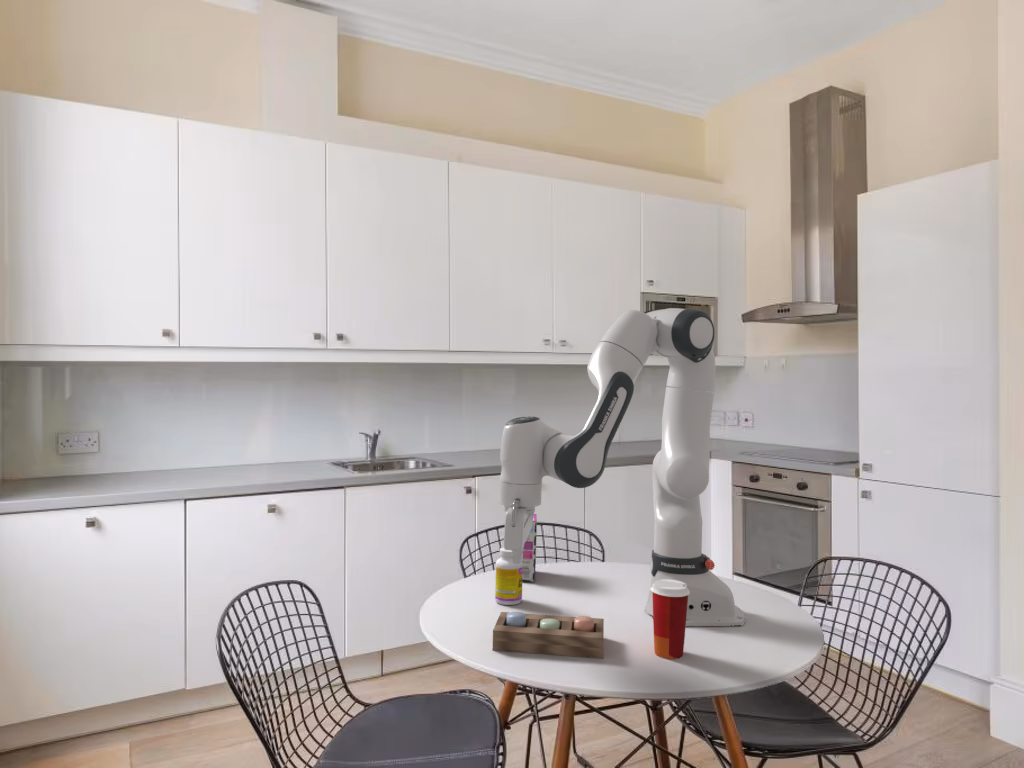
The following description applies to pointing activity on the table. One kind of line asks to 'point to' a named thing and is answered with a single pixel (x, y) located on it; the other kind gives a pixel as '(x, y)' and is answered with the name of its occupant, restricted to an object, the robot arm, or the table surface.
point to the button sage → (549, 624)
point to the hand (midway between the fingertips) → (517, 561)
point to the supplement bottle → (508, 579)
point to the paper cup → (669, 617)
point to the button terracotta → (584, 624)
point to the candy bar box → (530, 554)
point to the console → (549, 637)
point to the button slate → (516, 619)
